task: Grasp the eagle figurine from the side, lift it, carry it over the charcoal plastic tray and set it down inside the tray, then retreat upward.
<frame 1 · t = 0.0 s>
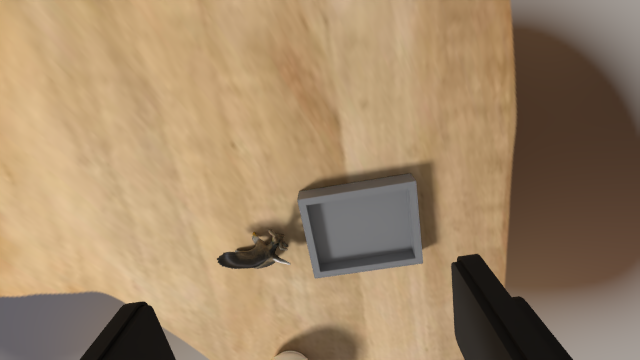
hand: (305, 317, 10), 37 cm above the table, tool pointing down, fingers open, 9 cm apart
tray: (360, 222, 51), on the table
eagle figurine: (260, 243, 52), on the table
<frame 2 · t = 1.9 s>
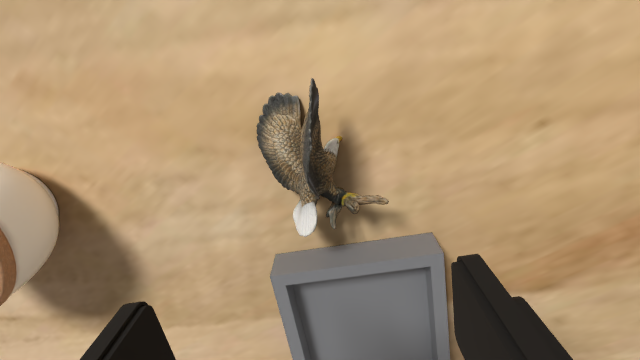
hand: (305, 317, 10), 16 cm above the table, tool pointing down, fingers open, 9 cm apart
tray: (365, 319, 31), on the table
eagle figurine: (314, 147, 26), on the table
lidded jar: (23, 202, 28), on the table
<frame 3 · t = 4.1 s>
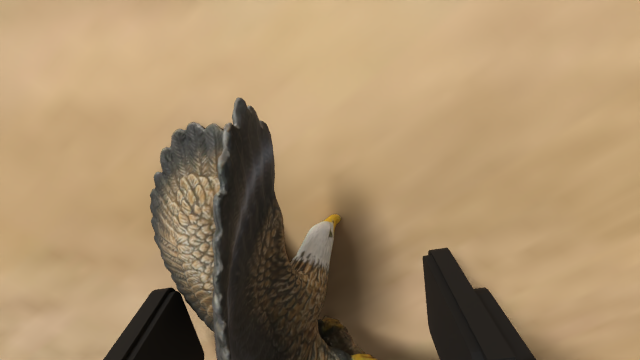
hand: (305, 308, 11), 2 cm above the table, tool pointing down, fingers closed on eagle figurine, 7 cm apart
eagle figurine: (281, 234, 12), on the table, touching gripper
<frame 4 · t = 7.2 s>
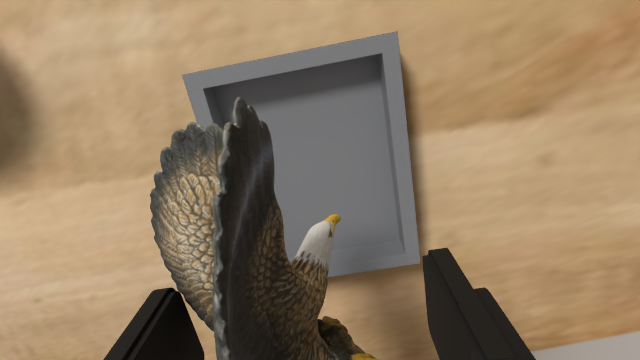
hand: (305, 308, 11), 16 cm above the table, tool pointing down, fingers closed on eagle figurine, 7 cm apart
tray: (314, 164, 26), on the table
eagle figurine: (281, 234, 12), point 14 cm above the table, touching gripper
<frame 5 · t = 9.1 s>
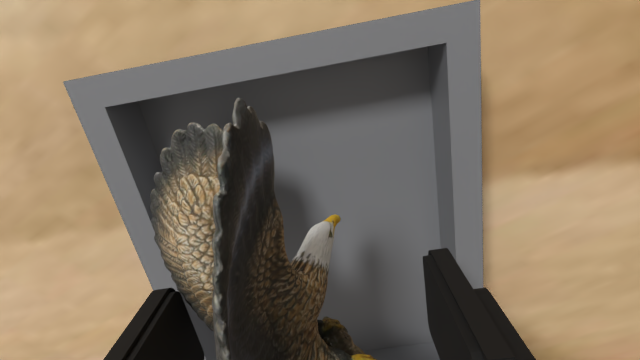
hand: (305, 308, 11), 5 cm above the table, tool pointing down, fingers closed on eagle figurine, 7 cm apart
tray: (313, 225, 16), on the table
eagle figurine: (281, 234, 12), point 4 cm above the table, touching gripper
when the fingers open (4 cm above the table, at t = 10.5 s): eagle figurine drops 1 cm, resting on tray.
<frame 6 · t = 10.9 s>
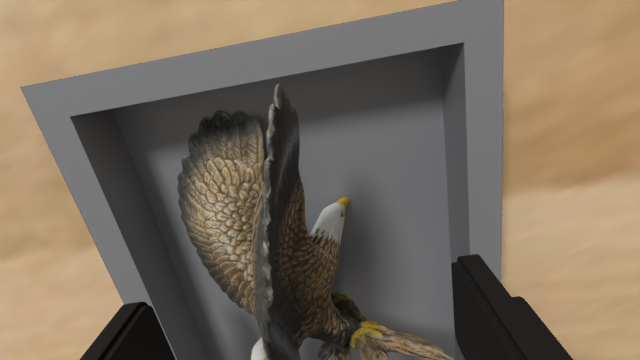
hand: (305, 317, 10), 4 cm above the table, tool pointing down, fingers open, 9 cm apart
tray: (310, 243, 14), on the table
eagle figurine: (295, 216, 13), point 1 cm above the table, touching tray
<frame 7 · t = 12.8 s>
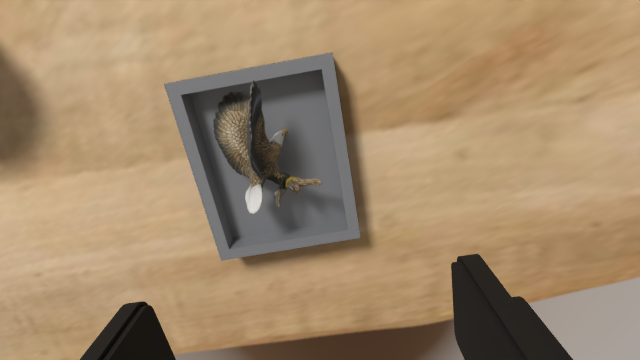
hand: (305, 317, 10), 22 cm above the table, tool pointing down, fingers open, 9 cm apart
tray: (274, 157, 31), on the table
eagle figurine: (264, 139, 30), point 1 cm above the table, touching tray
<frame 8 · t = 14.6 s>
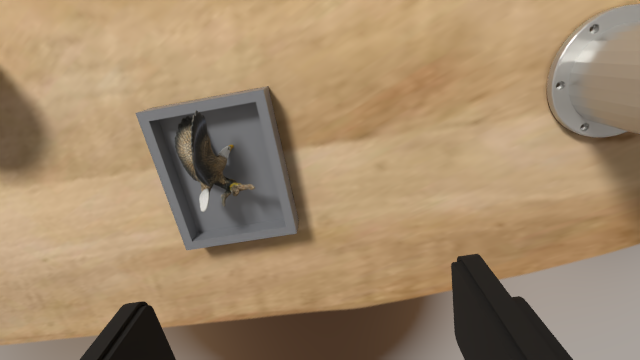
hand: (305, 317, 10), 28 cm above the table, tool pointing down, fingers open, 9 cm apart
tray: (228, 167, 39), on the table
eagle figurine: (216, 152, 37), point 1 cm above the table, touching tray
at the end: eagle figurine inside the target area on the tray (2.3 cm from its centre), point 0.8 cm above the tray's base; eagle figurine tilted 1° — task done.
